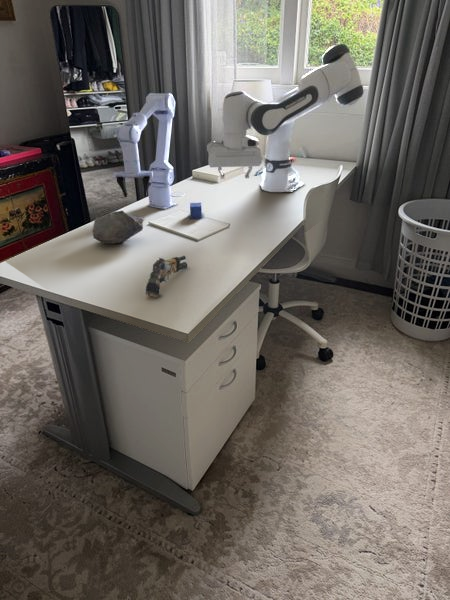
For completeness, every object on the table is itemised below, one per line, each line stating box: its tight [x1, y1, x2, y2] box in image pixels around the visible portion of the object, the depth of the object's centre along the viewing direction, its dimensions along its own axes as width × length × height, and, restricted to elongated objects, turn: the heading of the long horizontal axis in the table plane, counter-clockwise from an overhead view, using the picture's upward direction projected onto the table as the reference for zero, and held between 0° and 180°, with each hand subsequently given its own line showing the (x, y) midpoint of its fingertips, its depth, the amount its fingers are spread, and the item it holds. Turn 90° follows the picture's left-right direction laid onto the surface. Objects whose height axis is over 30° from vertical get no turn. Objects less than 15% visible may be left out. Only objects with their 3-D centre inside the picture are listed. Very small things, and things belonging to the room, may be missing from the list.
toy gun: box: [145, 255, 188, 298], centre depth 120 cm, size 3×21×10 cm, turn 158°
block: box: [189, 202, 203, 219], centre depth 170 cm, size 4×5×5 cm
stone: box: [91, 210, 144, 244], centre depth 146 cm, size 18×10×15 cm
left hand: (135, 196), depth 164 cm, fingers open, 7 cm apart
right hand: (234, 178), depth 163 cm, fingers open, 8 cm apart
